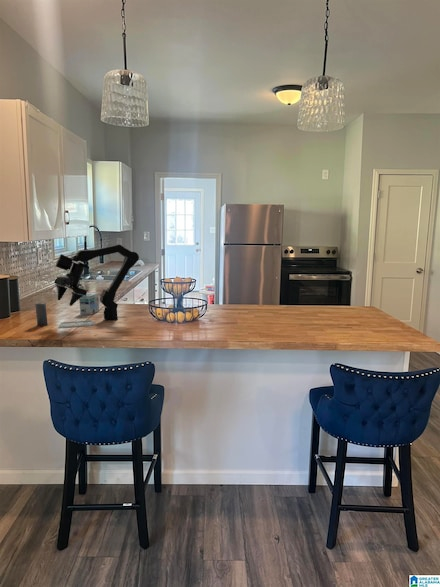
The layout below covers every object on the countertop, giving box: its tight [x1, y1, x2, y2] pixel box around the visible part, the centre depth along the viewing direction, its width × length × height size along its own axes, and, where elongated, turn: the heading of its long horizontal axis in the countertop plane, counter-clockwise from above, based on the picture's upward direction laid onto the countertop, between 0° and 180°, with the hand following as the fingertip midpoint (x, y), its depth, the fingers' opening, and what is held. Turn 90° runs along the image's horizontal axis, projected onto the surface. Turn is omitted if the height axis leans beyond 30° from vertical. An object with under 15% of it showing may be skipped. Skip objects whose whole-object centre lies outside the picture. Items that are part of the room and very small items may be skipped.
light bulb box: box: [78, 292, 100, 315], centre depth 238 cm, size 11×7×11 cm, turn 168°
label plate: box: [58, 319, 95, 329], centre depth 210 cm, size 16×10×1 cm, turn 104°
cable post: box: [35, 302, 48, 327], centre depth 210 cm, size 5×5×11 cm
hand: (64, 302), depth 209 cm, fingers open, 9 cm apart
